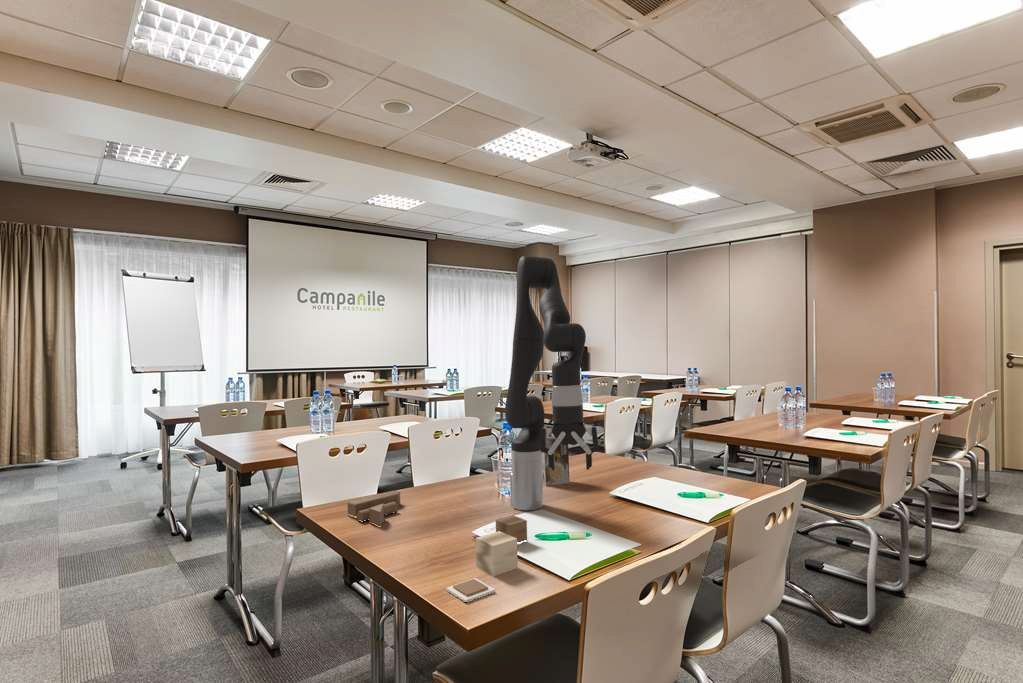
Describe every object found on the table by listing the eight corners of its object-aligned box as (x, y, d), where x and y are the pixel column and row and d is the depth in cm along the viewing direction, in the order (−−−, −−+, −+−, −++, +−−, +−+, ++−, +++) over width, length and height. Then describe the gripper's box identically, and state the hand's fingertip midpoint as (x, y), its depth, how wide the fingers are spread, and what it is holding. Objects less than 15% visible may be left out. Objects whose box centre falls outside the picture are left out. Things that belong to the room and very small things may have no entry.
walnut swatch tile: (446, 590, 107) (446, 585, 107) (475, 580, 111) (475, 575, 111) (465, 603, 102) (465, 598, 102) (495, 592, 106) (495, 587, 106)
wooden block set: (344, 499, 157) (395, 486, 170) (344, 518, 157) (396, 504, 170) (376, 509, 145) (429, 495, 159) (377, 530, 145) (429, 514, 158)
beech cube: (476, 567, 119) (475, 537, 119) (499, 559, 123) (499, 531, 123) (493, 576, 113) (493, 545, 114) (517, 568, 117) (517, 538, 118)
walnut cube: (496, 541, 134) (495, 519, 134) (513, 536, 137) (512, 515, 137) (509, 548, 129) (509, 525, 129) (527, 542, 133) (526, 520, 133)
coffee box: (563, 479, 194) (562, 435, 194) (570, 484, 188) (569, 438, 188) (539, 482, 192) (538, 437, 192) (545, 486, 186) (544, 439, 186)
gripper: (596, 401, 136) (599, 466, 135) (540, 403, 138) (543, 466, 137) (596, 404, 128) (599, 472, 128) (537, 405, 131) (540, 472, 130)
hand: (570, 469), depth 133 cm, fingers open, 8 cm apart
